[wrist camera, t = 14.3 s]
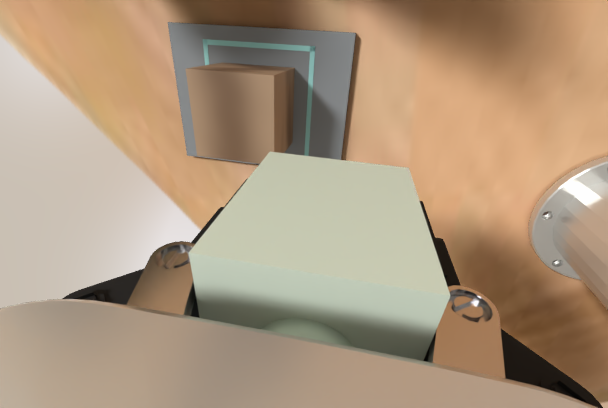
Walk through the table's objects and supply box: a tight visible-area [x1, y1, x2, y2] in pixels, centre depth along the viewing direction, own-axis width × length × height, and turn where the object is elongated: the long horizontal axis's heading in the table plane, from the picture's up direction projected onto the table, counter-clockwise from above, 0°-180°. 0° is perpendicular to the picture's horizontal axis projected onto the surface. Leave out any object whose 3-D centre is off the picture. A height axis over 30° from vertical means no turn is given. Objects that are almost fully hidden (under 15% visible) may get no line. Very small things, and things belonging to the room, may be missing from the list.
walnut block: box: [186, 62, 295, 164], centre depth 25 cm, size 6×6×6 cm
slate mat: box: [168, 22, 356, 165], centre depth 28 cm, size 16×12×1 cm
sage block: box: [189, 152, 450, 361], centre depth 9 cm, size 5×5×7 cm
